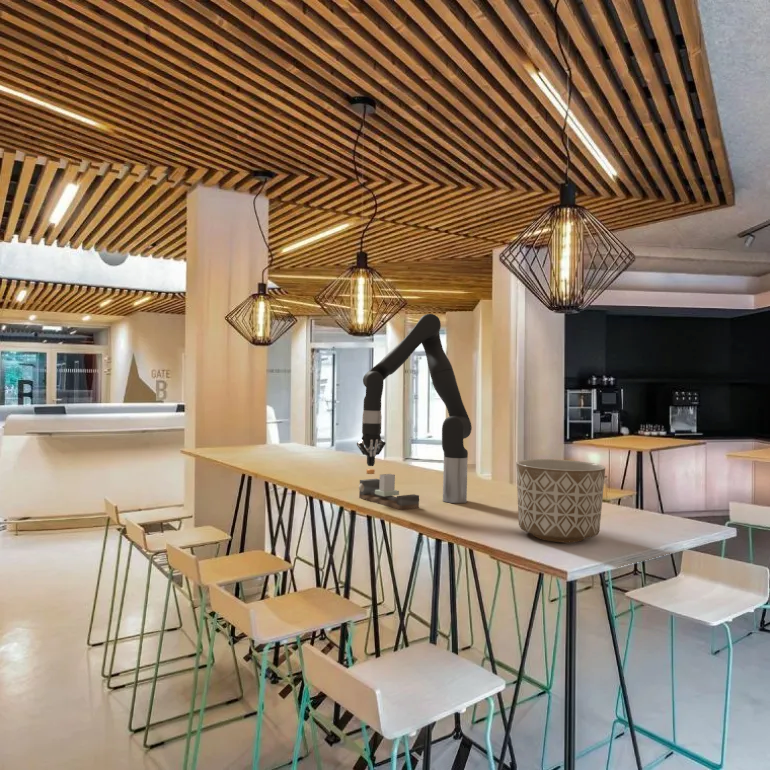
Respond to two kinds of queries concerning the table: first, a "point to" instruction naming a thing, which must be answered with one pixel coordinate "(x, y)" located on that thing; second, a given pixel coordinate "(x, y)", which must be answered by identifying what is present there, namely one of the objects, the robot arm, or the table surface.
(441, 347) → the robot arm
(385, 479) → the carriage
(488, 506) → the table surface
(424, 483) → the table surface
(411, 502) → the rail
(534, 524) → the planter
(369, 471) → the gauge button
